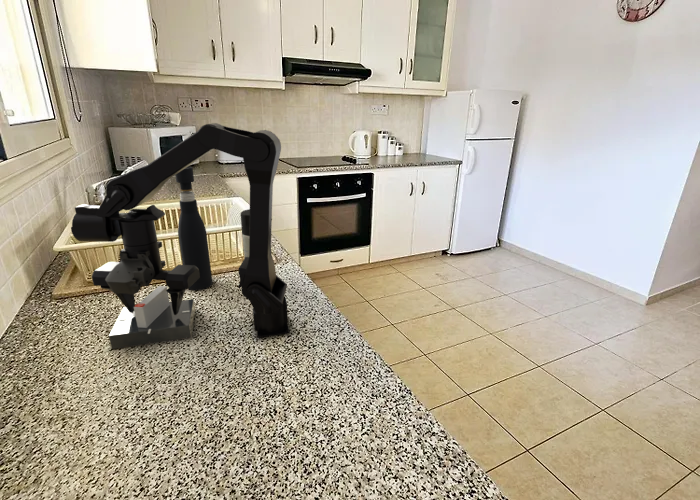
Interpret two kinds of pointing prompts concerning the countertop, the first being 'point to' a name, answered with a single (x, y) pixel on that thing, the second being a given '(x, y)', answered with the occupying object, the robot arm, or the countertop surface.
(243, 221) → the spray can
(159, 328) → the block
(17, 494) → the countertop surface
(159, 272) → the robot arm
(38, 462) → the countertop surface
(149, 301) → the knob
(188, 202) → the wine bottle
